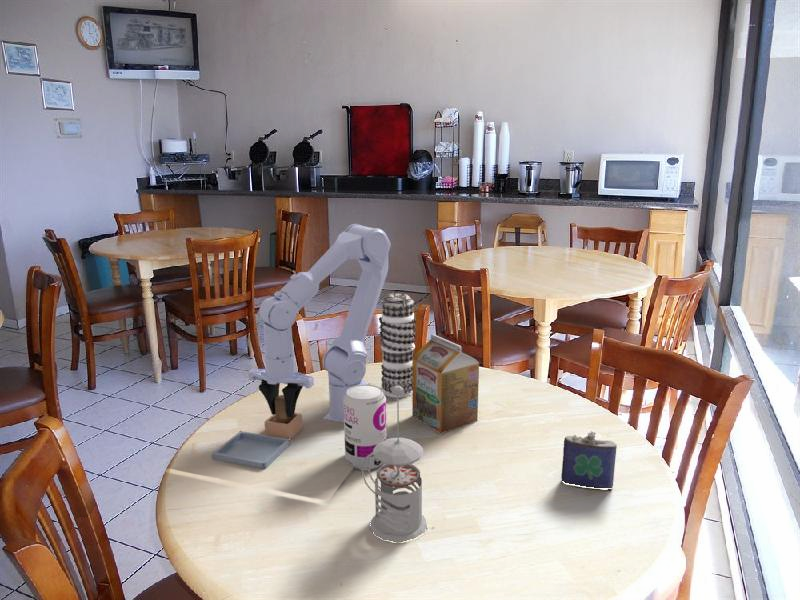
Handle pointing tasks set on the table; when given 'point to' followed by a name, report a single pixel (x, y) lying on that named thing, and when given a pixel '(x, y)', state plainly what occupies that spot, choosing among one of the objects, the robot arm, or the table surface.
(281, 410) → the dowel
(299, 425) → the hollow square block
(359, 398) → the supplement can
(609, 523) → the table surface
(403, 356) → the decorative candle
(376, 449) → the french press
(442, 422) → the milk carton
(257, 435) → the tray
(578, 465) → the flask
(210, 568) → the table surface
